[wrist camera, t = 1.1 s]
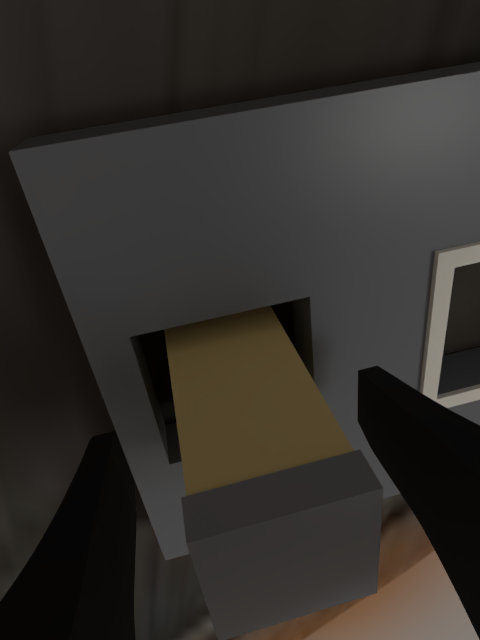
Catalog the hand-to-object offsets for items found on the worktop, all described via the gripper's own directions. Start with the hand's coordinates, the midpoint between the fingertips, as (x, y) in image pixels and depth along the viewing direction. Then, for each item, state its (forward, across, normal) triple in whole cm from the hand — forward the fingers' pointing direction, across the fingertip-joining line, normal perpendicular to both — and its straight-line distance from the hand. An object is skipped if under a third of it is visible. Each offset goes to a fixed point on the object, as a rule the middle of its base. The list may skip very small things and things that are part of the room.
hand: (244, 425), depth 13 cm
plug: (+4, 0, 0) cm, 4 cm away
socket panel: (+4, -5, 0) cm, 6 cm away
